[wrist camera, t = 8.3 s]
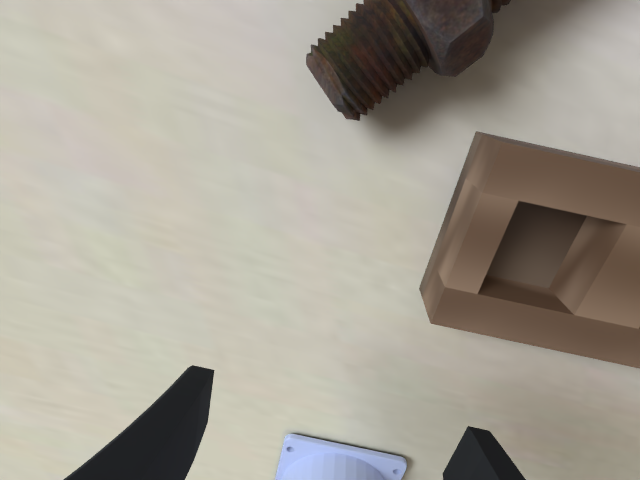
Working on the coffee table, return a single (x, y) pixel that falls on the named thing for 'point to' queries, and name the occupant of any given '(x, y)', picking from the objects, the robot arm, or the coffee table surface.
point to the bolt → (398, 47)
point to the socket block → (541, 251)
